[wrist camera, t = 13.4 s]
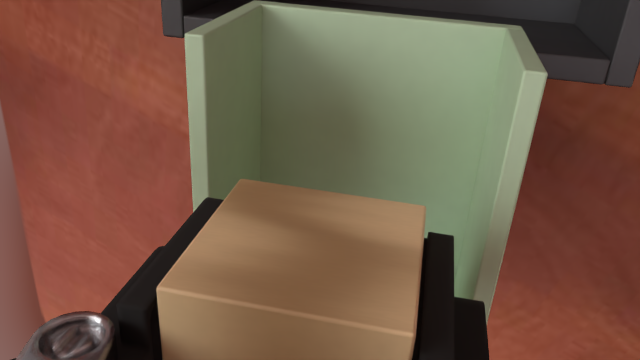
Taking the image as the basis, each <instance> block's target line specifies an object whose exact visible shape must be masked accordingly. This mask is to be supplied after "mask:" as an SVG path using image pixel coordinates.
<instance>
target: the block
mask: <svg viewBox="0 0 640 360" xmlns="http://www.w3.org/2000/svg"><path fill="white" fill-rule="evenodd" d="M425 221H426V207H425V206H423V205H416V204H410V203H403V202H396V201H389V200H383V199H376V198H369V197H362V196H356V195H349V194H342V193H336V192H329V191H322V190H315V189H309V188H302V187H295V186H288V185H282V184H275V183H268V182H261V181H255V180H248V179H240V180H239V181H238V183H237V184H236V185H235V187H234V188H233V189H232V190H231V192H230V193H229V194H228V196H227V197H226V198H225V199H224V201H223V202H222V203H221V205H220V206H219V207H218V208H217V210H216V211H215V212H214V214H213V215H212V216H211V218H210V219H209V220H208V221H207V223H206V224H205V225H204V227H203V228H202V229H201V230H200V232H199V233H198V234H197V236H196V237H195V238H194V239H193V241H192V242H191V243H190V245H189V246H188V247H187V249H186V250H185V251H184V252H183V254H182V255H181V256H180V258H179V259H178V260H177V261H176V263H175V264H174V265H173V267H172V268H171V269H170V271H169V272H168V273H167V274H166V276H165V277H164V278H163V280H162V281H161V282H160V283H159V285H158V286H157V289H156V292H157V303H158V314H159V325H160V337H161V348H162V359H163V360H412V356H413V350H414V345H415V339H416V330H417V318H418V305H419V293H420V281H421V269H422V257H423V245H424V233H425Z"/></svg>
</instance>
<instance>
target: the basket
mask: <svg viewBox="0 0 640 360" xmlns="http://www.w3.org/2000/svg"><path fill="white" fill-rule="evenodd" d="M252 1H254V0H161V6H162V21H163V34H164V36H168V37H177V38H184V37H185V33H187V32H189V31H191V30H193V29H195V28H197V27H200V26H202V25H204V24H206V23H208V22H210V21H212V20H214V19H216V18H218V17H220V16H222V15H224V14H226V13H228V12H231V11H233V10H235V9H237V8H239V7H241V6H243V5H245V4H247V3H250V2H252ZM257 1H268V2H278V3H288V4H299V5H309V6H319V7H330V8H340V9H350V10H361V11H371V12H381V13H392V14H402V15H412V16H423V17H433V18H443V19H454V20H464V21H474V22H485V23H495V24H505V25H516V26H521V27H522V28H523V30H524V31H525V33H526V35H527V37H528V39H529V41H530V42H531V44H532V46H533V48H534V50H535V51H536V53H537V55H538V57H539V59H540V61H541V62H542V64H543V66H544V68H545V70H546V71H547V74H548V76H547V78H548V79H557V80H566V81H575V82H584V83H593V84H605V85H610V86H619V87H628V88H629V87H631V86H632V84H633V81H634V78H635V74H636V71H637V68H638V65H639V62H640V0H257Z"/></svg>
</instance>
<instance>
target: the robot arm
mask: <svg viewBox="0 0 640 360" xmlns="http://www.w3.org/2000/svg"><path fill="white" fill-rule="evenodd" d="M223 201H224V200H223V199H216V198H210V197H207V198H205V199H204V200H203V202H202V203H201V204H200V205H199V206H198V207H197V209H196V210H195V211H194V212H193V213H192V215H191V216H190V217H189V218H188V219H187V221H186V222H185V223H184V224H183V225H182V226H181V228H180V229H179V230H178V231H177V232H176V234H175V235H174V236H173V237H172V238H171V240H170V241H169V242H168V243H167V244H166V245H165V246H161V247H158V248H157V249H156V250H155V251H154V252H153V253H152V254H151V256H150V257H149V258H148V259H147V260H146V261H145V263H144V264H143V265H142V266H141V267H140V268H139V270H138V271H137V272H136V273H135V274H134V275H133V277H132V278H131V279H130V280H129V281H128V282H127V284H126V285H125V286H124V287H123V288H122V289H121V290H120V292H119V293H118V294H117V295H116V296H115V297H114V299H113V300H112V301H111V302H110V303H109V304H108V306H107V307H106V308H105V309H104V310H103V311H102V313H101V314H100V313H95V312H90V311H81V312H72V313H68V314H63V315H61V316H58V317H56V318H54V319H51V320H50V321H48V322H47V323H45V324H44V325H42V326H41V327H40V328H39V329H38V330H37V331H36V332H35V333H34V334H33V335H32V337H31V338H30V340H29V341H28V342H27V344H26V346H25V347H24V348H23V350H22V351H21V353H20V354H19V356H18V357H17V358H15V359H12V360H163V359H162V348H161V337H160V325H159V314H158V303H157V292H156V289H157V286H158V285H159V283H160V282H161V281H162V280H163V278H164V277H165V276H166V274H167V273H168V272H169V271H170V269H171V268H172V267H173V265H174V264H175V263H176V261H177V260H178V259H179V258H180V256H181V255H182V254H183V252H184V251H185V250H186V249H187V247H188V246H189V245H190V243H191V242H192V241H193V239H194V238H195V237H196V236H197V234H198V233H199V232H200V230H201V229H202V228H203V227H204V225H205V224H206V223H207V221H208V220H209V219H210V218H211V216H212V215H213V214H214V212H215V211H216V210H217V208H218V207H219V206H220V205H221V203H222V202H223ZM412 360H489V350H488V338H487V325H486V313H485V304H484V302H483V301H477V300H472V299H466V298H460V297H454V236H453V235H447V234H440V233H434V232H428V236H427V238H424V245H423V257H422V269H421V281H420V293H419V305H418V318H417V330H416V339H415V345H414V350H413V356H412Z"/></svg>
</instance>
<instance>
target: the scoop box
mask: <svg viewBox="0 0 640 360" xmlns="http://www.w3.org/2000/svg"><path fill="white" fill-rule="evenodd" d="M185 56H186V76H187V96H188V116H189V136H190V156H191V176H192V195H193V212H194V211H195V210H196V209H197V207H198V206H199V205H200V204H201V203H202V202H203V200H204V199H205V198H207V197H210V198H216V199H223V200H224V199H225V198H226V197H227V196H228V194H229V193H230V192H231V190H232V189H233V188H234V187H235V185H236V184H237V183H238V181H239V180H240V179H248V180H255V181H261V182H268V183H275V184H282V185H288V186H295V187H302V188H309V189H315V190H322V191H329V192H336V193H342V194H349V195H356V196H362V197H369V198H376V199H383V200H389V201H396V202H403V203H410V204H416V205H423V206H425V207H426V221H425V233H424V238H427V236H428V232H434V233H440V234H447V235H453V236H454V297H460V298H466V299H472V300H477V301H483V302H484V304H485V313H486V325H487V321H488V317H489V313H490V309H491V305H492V301H493V297H494V293H495V289H496V284H497V280H498V276H499V272H500V268H501V264H502V260H503V256H504V252H505V248H506V244H507V239H508V235H509V231H510V227H511V223H512V219H513V215H514V211H515V207H516V203H517V199H518V194H519V190H520V186H521V182H522V178H523V174H524V170H525V166H526V162H527V158H528V154H529V149H530V145H531V141H532V137H533V133H534V129H535V125H536V121H537V117H538V113H539V109H540V104H541V100H542V96H543V92H544V88H545V84H546V80H547V76H548V74H547V71H546V70H545V68H544V66H543V64H542V62H541V61H540V59H539V57H538V55H537V53H536V51H535V50H534V48H533V46H532V44H531V42H530V41H529V39H528V37H527V35H526V33H525V31H524V30H523V28H522V27H521V26H516V25H505V24H495V23H485V22H474V21H464V20H454V19H443V18H433V17H423V16H412V15H402V14H392V13H381V12H371V11H361V10H350V9H340V8H330V7H319V6H309V5H299V4H288V3H278V2H268V1H257V0H254V1H252V2H250V3H247V4H245V5H243V6H241V7H239V8H237V9H235V10H233V11H231V12H228V13H226V14H224V15H222V16H220V17H218V18H216V19H214V20H212V21H210V22H208V23H206V24H204V25H202V26H200V27H197V28H195V29H193V30H191V31H189V32H187V33H185Z"/></svg>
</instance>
